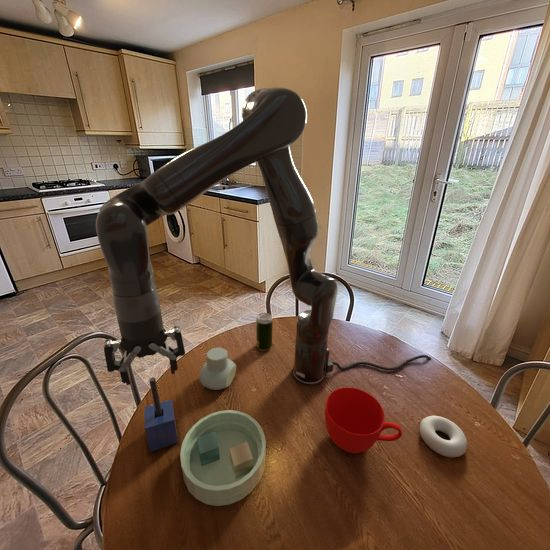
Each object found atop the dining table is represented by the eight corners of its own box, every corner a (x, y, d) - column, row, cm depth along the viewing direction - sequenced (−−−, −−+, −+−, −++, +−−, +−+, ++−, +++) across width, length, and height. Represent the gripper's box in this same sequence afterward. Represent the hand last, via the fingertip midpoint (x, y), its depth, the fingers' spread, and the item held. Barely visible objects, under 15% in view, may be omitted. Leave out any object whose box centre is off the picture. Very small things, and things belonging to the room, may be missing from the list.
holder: (175, 422, 72) (171, 399, 69) (178, 444, 67) (174, 419, 64) (149, 430, 70) (144, 406, 67) (150, 453, 65) (144, 428, 62)
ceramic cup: (395, 483, 61) (405, 451, 56) (316, 454, 66) (319, 423, 62) (395, 430, 72) (403, 401, 68) (327, 409, 77) (331, 381, 73)
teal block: (216, 443, 67) (214, 431, 65) (219, 459, 64) (218, 447, 62) (198, 449, 66) (196, 437, 64) (201, 466, 62) (199, 454, 61)
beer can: (261, 353, 97) (261, 323, 92) (253, 344, 101) (253, 315, 96) (275, 347, 100) (275, 318, 95) (266, 339, 104) (267, 310, 99)
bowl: (250, 417, 74) (250, 401, 72) (277, 485, 60) (278, 468, 57) (178, 440, 68) (176, 424, 66) (189, 524, 53) (186, 506, 51)
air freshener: (214, 365, 91) (212, 339, 87) (238, 370, 89) (238, 344, 85) (196, 391, 82) (193, 363, 77) (223, 398, 80) (221, 369, 75)
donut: (469, 467, 64) (459, 428, 73) (474, 457, 63) (463, 419, 71) (420, 452, 67) (416, 416, 75) (423, 442, 65) (419, 407, 74)
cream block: (247, 453, 65) (247, 441, 63) (253, 470, 62) (253, 458, 60) (230, 460, 64) (229, 448, 62) (235, 478, 60) (234, 465, 59)
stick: (166, 434, 69) (155, 376, 62) (166, 438, 68) (155, 380, 61) (160, 436, 69) (149, 378, 62) (161, 440, 68) (149, 382, 61)
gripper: (92, 328, 48) (111, 400, 55) (180, 312, 54) (189, 379, 60) (97, 306, 55) (114, 373, 61) (176, 294, 60) (184, 357, 67)
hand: (151, 376), depth 61 cm, fingers open, 8 cm apart
